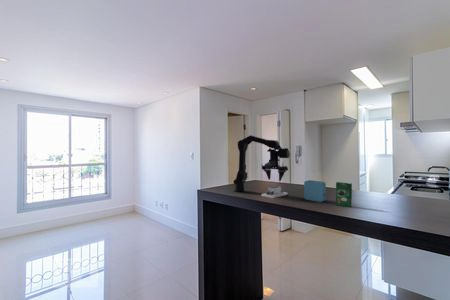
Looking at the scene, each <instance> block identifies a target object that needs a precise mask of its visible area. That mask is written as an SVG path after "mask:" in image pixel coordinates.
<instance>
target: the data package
mask: <svg viewBox="0 0 450 300" xmlns="http://www.w3.org/2000/svg"><path fill="white" fill-rule="evenodd" d="M303 184H304V185H303V190H304V193H303V194H304V195H303V196H304V199H305V200H306V201H312V202H318V203H322V202H325V201H326V199H327V185H326V182H325V181H321V180H320V181H319V180H311V179H309V180H305V181H304V183H303Z"/></svg>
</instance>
